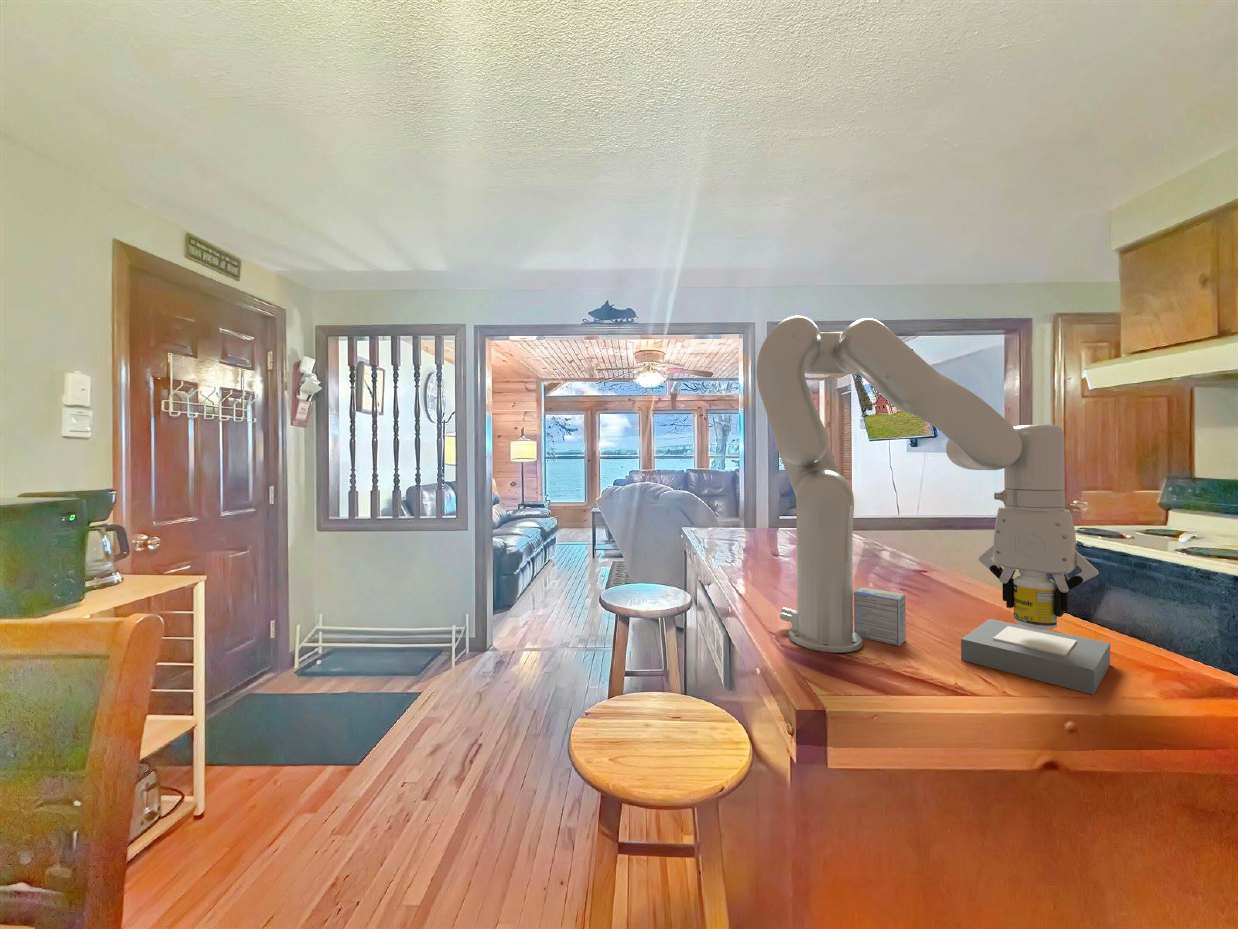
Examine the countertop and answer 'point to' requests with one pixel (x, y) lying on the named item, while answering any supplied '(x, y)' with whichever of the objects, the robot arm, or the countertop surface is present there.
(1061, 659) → the plate
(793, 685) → the countertop surface
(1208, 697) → the countertop surface
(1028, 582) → the supplement bottle
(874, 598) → the medicine box
